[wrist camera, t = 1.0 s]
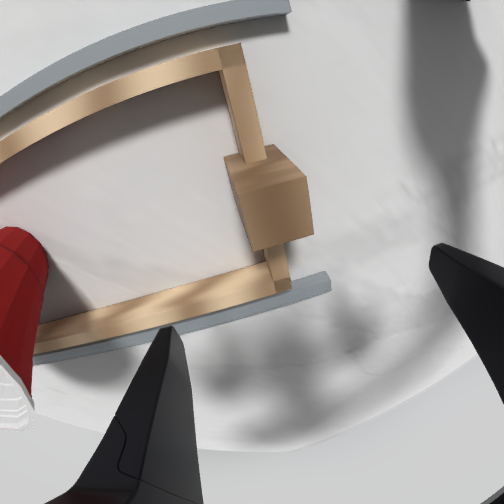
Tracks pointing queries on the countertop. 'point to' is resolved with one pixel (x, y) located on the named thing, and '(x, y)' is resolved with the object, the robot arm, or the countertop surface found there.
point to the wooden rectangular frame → (244, 189)
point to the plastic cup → (19, 323)
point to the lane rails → (240, 9)
